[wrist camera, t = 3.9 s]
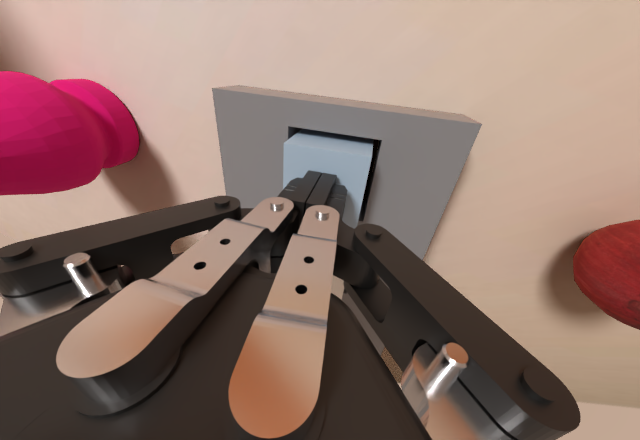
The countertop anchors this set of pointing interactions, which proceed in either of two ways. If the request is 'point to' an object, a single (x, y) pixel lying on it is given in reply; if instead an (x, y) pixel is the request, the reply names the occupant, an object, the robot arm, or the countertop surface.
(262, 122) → the board
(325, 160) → the blue key
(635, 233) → the onion
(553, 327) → the countertop surface
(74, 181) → the pepper mill
